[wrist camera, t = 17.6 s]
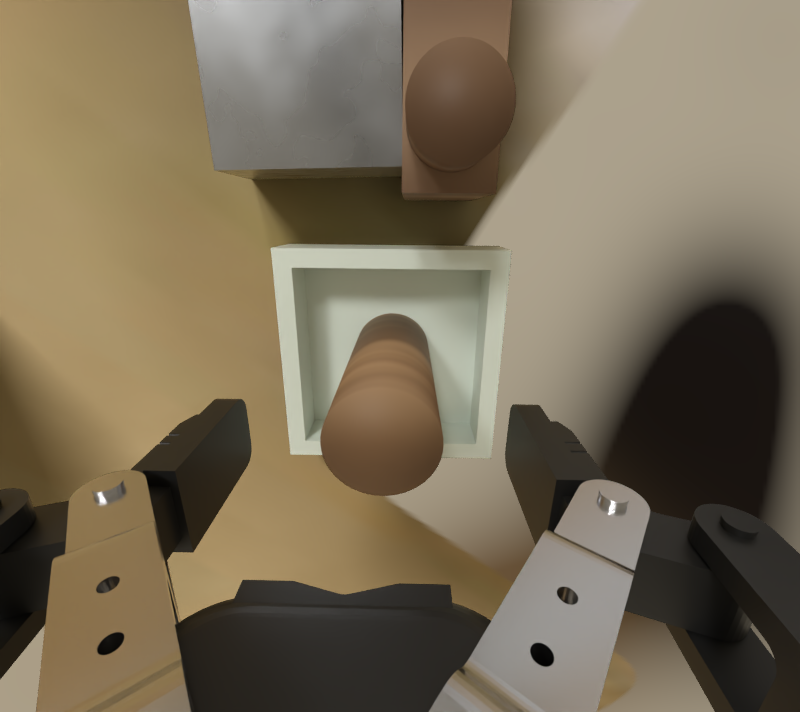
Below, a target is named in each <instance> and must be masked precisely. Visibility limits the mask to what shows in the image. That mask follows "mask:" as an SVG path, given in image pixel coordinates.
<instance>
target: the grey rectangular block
mask: <svg viewBox="0 0 800 712" xmlns="http://www.w3.org/2000/svg"><path fill="white" fill-rule="evenodd" d="M188 3H189V10H190V16H191V23H192V29H193V35H194V42H195V48H196V55H197V61H198V68H199V74H200V80H201V87H202V93H203V100H204V106H205V113H206V119H207V125H208V132H209V138H210V145H211V151H212V158H213V164H214V170H215V171H219V172H224V173H228V174H232V175H236V176H240V177H244V178H248V179H298V178H346V177H395V176H402V117H403V20H402V0H188Z"/></svg>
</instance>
